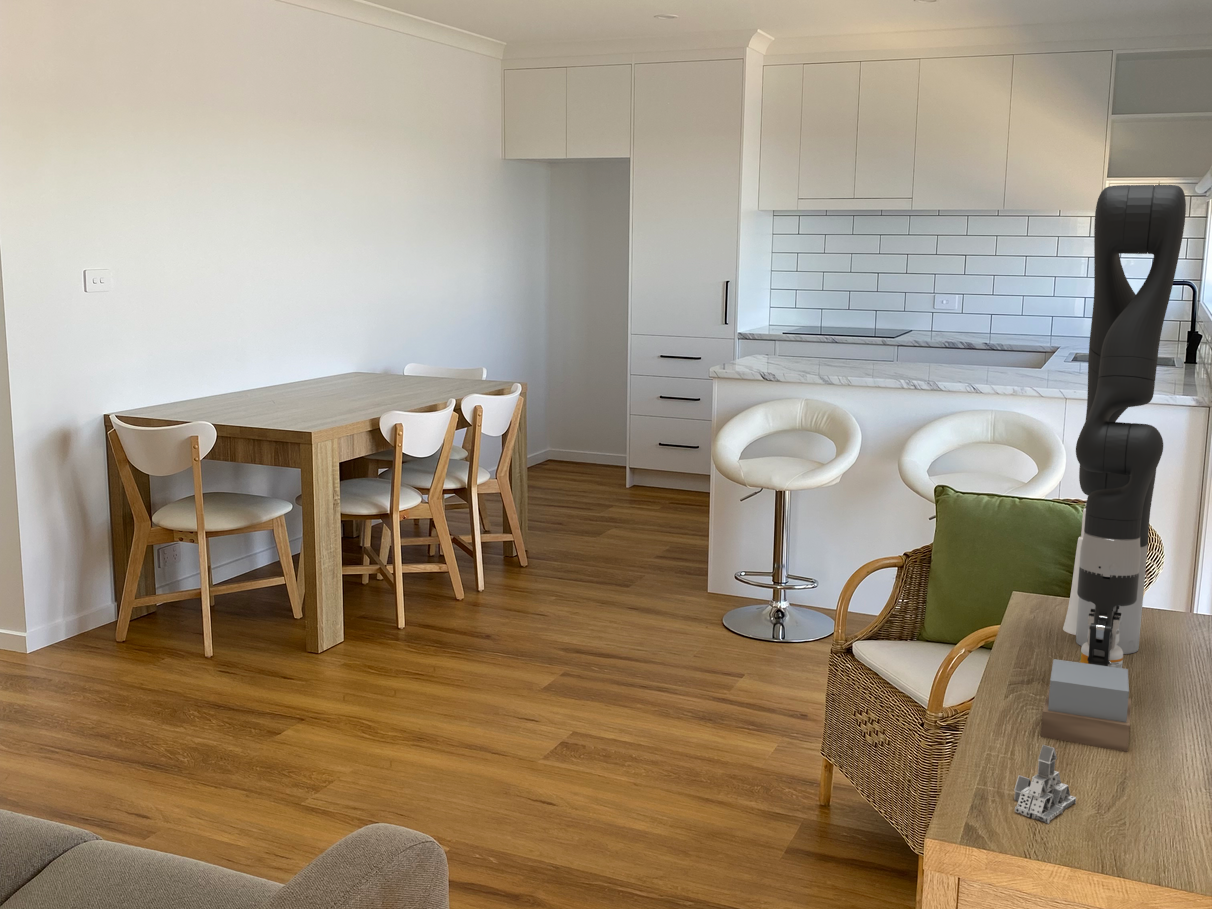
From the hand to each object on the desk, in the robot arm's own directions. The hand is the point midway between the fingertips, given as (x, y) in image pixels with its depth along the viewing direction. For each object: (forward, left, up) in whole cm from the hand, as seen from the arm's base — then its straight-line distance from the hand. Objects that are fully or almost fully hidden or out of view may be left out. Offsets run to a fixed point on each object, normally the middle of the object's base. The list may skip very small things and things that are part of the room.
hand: (1099, 683), depth 153 cm
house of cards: (+31, -22, -3) cm, 39 cm away
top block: (+12, -7, +2) cm, 14 cm away
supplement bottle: (0, 0, -2) cm, 2 cm away
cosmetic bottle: (-30, +11, -2) cm, 32 cm away
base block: (+12, -7, -2) cm, 14 cm away
